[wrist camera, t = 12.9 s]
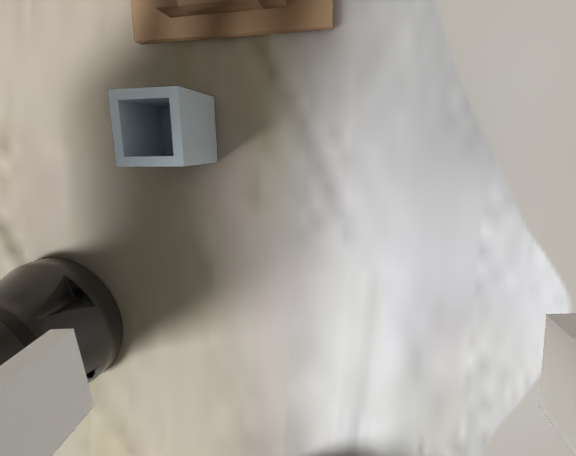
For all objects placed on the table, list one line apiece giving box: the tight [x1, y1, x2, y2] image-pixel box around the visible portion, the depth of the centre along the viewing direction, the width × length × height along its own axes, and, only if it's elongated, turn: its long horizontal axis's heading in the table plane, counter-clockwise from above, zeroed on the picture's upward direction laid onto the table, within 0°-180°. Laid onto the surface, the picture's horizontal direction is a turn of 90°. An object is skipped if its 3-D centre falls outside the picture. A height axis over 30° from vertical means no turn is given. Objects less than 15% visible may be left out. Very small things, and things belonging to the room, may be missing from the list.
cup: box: [108, 86, 218, 167], centre depth 33 cm, size 6×6×7 cm
